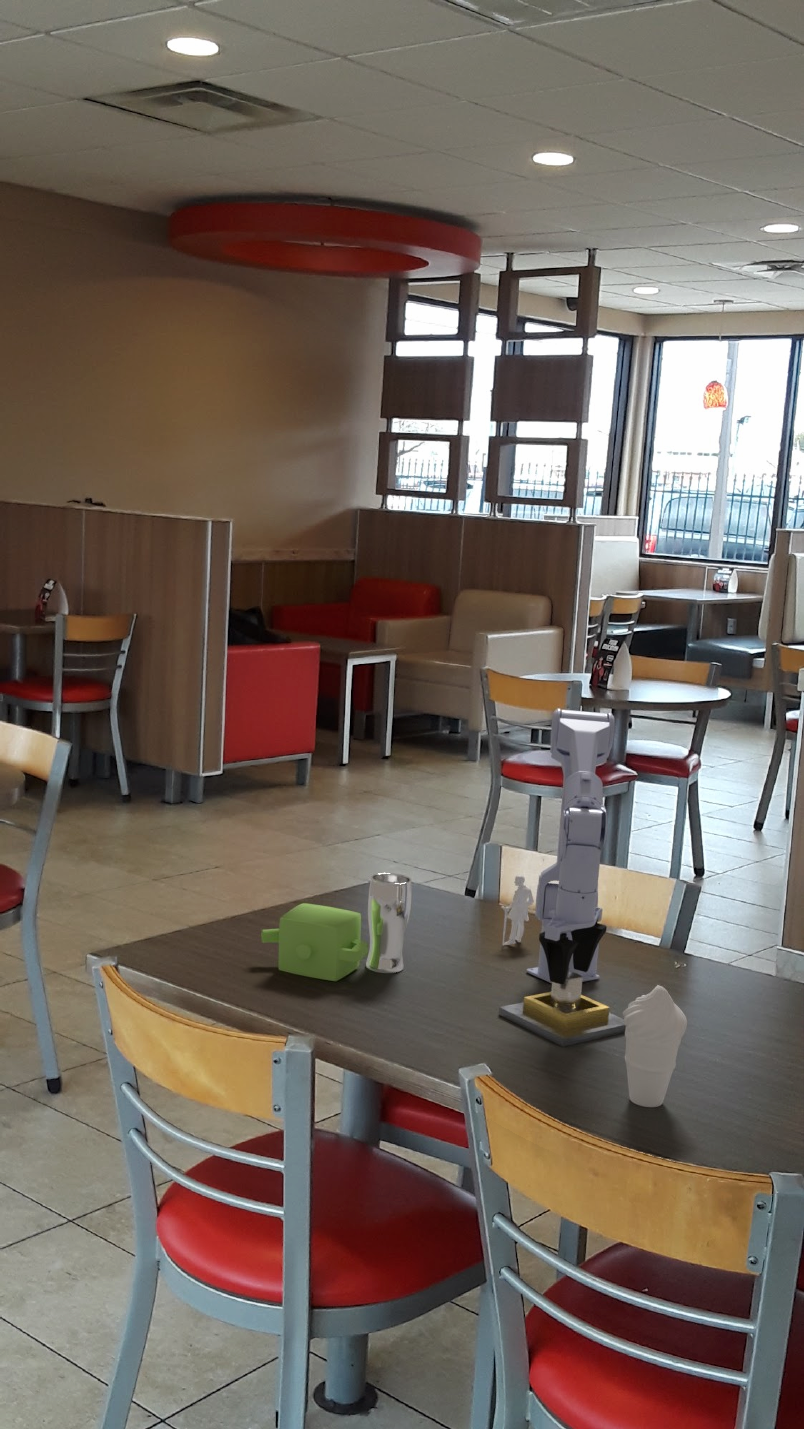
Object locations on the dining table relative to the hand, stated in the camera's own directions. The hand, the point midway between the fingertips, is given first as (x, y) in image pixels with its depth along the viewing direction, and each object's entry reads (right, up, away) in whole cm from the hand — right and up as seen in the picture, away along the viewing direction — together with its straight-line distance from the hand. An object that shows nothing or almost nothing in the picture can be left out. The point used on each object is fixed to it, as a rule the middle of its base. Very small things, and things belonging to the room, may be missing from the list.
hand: (569, 976), depth 212 cm
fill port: (-1, -7, +1) cm, 7 cm away
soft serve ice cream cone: (+7, -12, -25) cm, 29 cm away
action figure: (-5, -1, +38) cm, 39 cm away
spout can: (-1, -6, +1) cm, 6 cm away
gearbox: (-39, -2, +16) cm, 43 cm away
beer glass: (-28, -2, +20) cm, 34 cm away
